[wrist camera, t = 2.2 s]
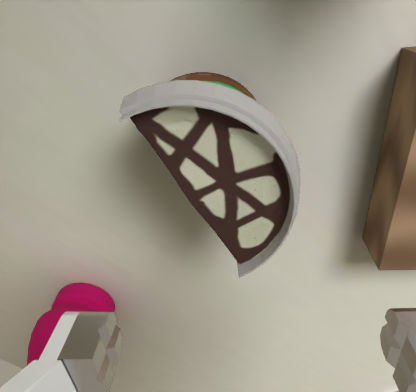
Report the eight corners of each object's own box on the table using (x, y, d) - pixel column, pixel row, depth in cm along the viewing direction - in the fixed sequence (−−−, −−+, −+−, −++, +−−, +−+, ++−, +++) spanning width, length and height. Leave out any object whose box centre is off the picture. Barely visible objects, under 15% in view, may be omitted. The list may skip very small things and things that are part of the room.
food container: (307, 162, 27) (343, 245, 18) (239, 195, 29) (243, 283, 20) (230, 12, 22) (232, 31, 13) (153, 64, 24) (111, 110, 15)
